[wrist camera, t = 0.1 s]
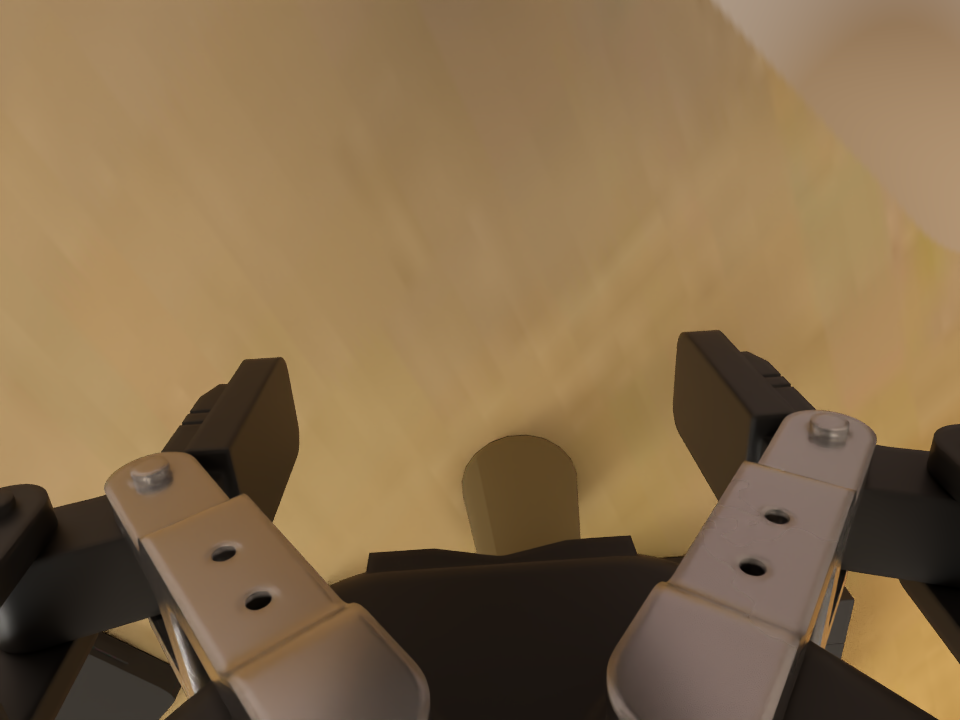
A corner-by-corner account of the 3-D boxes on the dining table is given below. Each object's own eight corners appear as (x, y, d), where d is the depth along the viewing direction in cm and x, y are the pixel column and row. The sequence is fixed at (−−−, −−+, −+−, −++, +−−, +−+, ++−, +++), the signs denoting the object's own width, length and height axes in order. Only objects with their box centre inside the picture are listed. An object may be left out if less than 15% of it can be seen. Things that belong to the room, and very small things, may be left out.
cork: (597, 499, 37) (651, 671, 27) (498, 548, 38) (515, 731, 28) (542, 415, 34) (578, 568, 24) (439, 470, 35) (434, 638, 25)
